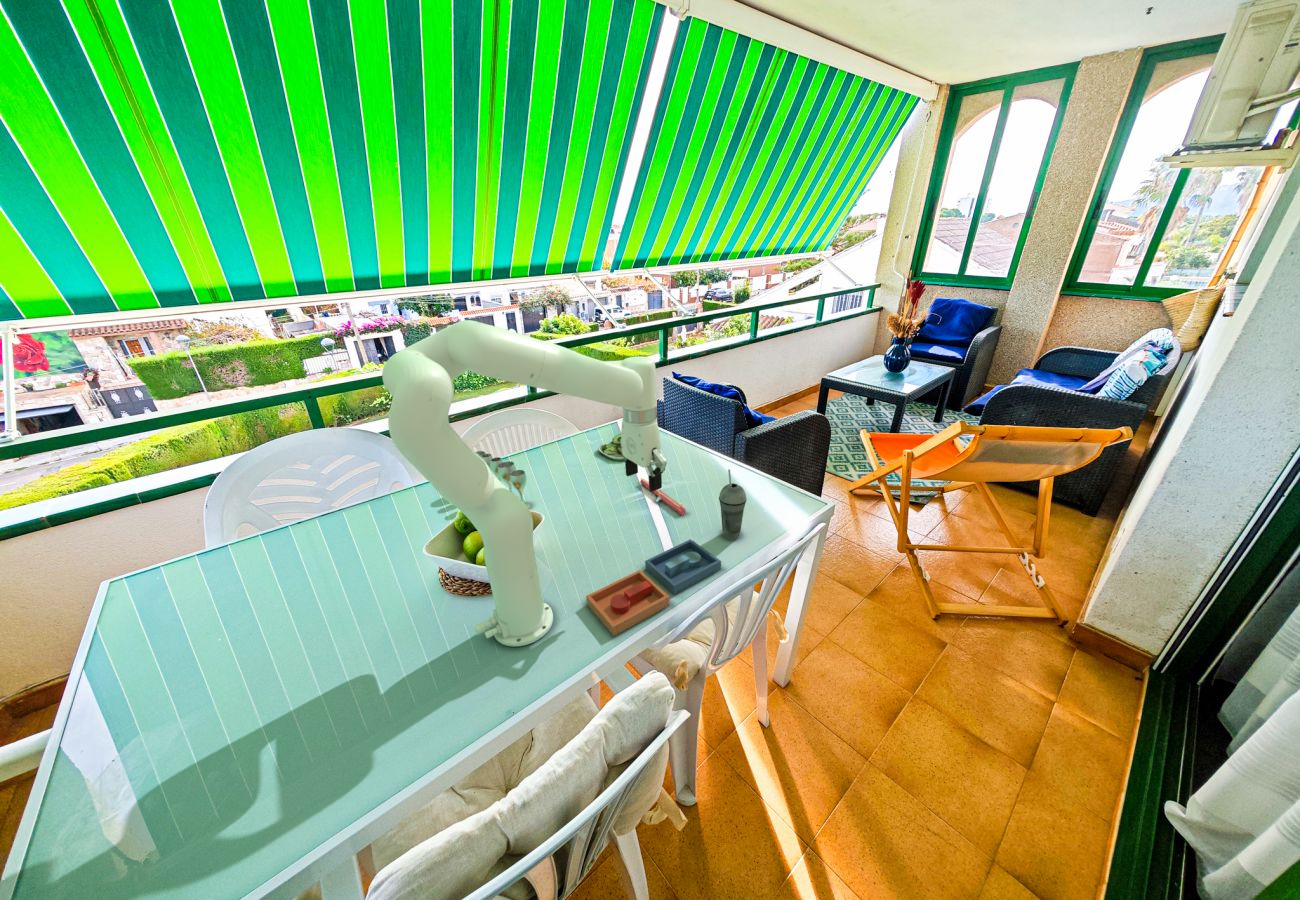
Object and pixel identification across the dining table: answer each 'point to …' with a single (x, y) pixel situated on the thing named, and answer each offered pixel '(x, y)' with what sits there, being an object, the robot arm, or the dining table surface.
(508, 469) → the goblet set
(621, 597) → the red spoon
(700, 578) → the slate tray
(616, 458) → the salad plate
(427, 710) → the dining table surface
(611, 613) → the terracotta tray
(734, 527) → the beverage cup
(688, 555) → the blue-grey rounded block
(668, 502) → the red bar
